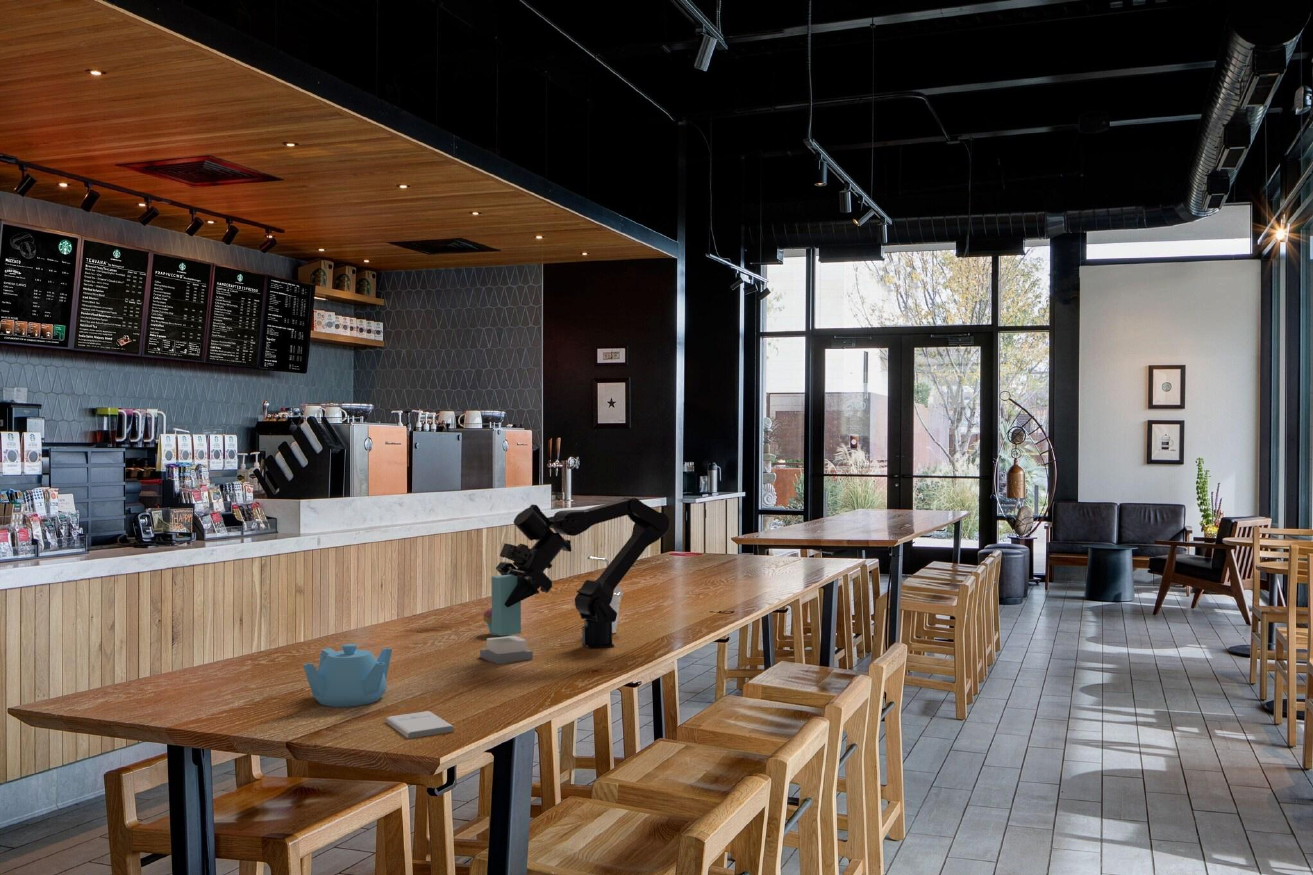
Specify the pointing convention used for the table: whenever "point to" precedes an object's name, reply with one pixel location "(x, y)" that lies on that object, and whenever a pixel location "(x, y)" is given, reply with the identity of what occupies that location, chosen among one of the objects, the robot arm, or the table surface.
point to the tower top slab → (506, 644)
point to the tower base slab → (505, 656)
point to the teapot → (348, 676)
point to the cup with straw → (616, 596)
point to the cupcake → (489, 620)
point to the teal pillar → (502, 616)
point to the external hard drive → (419, 724)
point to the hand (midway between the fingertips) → (500, 604)
